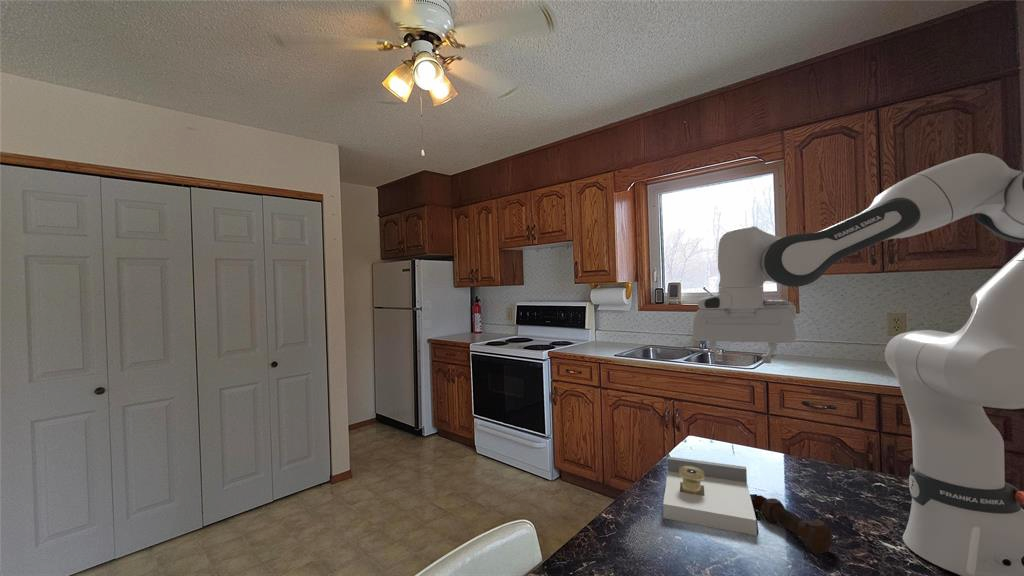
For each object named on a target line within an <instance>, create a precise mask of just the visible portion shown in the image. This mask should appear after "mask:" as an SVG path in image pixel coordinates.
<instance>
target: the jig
mask: <svg viewBox="0 0 1024 576" xmlns="http://www.w3.org/2000/svg"><path fill="white" fill-rule="evenodd" d="M682 466H693V467H697V468H699V469H701V470H702V471H704V473H705V477H704V480H703V481H700V495H695V494H689V493H683V478H682V477H681V476H680V475H679V468H680V467H682ZM664 489H665V490H664V495H663V503H662V509H663V511H662V512H663V513H662V514H663V519H666V520H672V521H676V522H682V523H686V524H687V523H688V524H692V525H699V526H704V527H707V528H708V527H709V528H715V529H721V530H725V531H730V532H736V533H742V534H746V535H751V536H756V537H757V536H758V533H757V531H758V529H757V518H756V513H755V509H754V508H753V505H752V501H751V499H752V498H751V494H750V490H749V484H748V477H747V466H743V465H742V466H741V465H736V464H727V463H719V462H713V461H712V462H711V461H705V460H698V459H688V458H681V457H675V456H667V475H666V481H665V488H664Z"/></svg>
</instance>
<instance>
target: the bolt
mask: <svg viewBox="0 0 1024 576" xmlns="http://www.w3.org/2000/svg"><path fill="white" fill-rule="evenodd" d="M751 501H752V505H753V509H754V510H756V511H757V512H759V513H760V514H761V516H762V517H763V519H764V521H766V522H767V523H769V524H771V525H780V526H781V527H783V528H785V529H786V530H788V531H789V532H791V533H793V534H794V535H796V536H798V537H799V538H800V539H801V541H802V543H803V545H804V547H805V548H806V550H807V551H809V552H810V553H812V554H823V553H826V552H827V551H828V550H829V549H830V548H831V546H832V543H833V534H832V531H831V529H830V528H829V526H828V525H827V523H825V522H824V521H822V520H820V519H817V520H811V521H808V520H805V519H804V518H801V517H800V516H798V515H797V514H795V513H793V512H791V511H789V510H788V509H786V507H785V506H784V504H783V503H782V502H781V501H780V500H779V499H777V498H772V497H771V498H766V497H764V495H753V496H752V498H751Z"/></svg>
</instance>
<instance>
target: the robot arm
mask: <svg viewBox="0 0 1024 576" xmlns="http://www.w3.org/2000/svg"><path fill="white" fill-rule="evenodd" d="M971 215H972V217H973V219H974V220H975V221H976V222H978V223H979V224H981V225H983V226H984V227H985V228H986V229H987V230H988V231H989V232H990V233H991V234H993V235H995V236H996V237H998V238H1000V239H1002V240H1005V241H1007V242H1008V241H1009V242H1013V243H1024V172H1023V171H1022V170H1017V169H1013V168H1011V167H1009V166H1008V164H1006V162H1004V160H1003V159H1001V158H1000V157H998V156H995V155H993V154H990V153H985V152H984V153H981V152H979V153H972V154H971V153H970V154H968V155H963V156H961V157H956V158H954V159H951V160H948V161H946V162H945V161H944V162H942V163H940V164H936V165H934V166H931V167H929V168H927V169H924V170H922V171H920V172H917V173H915V174H913V175H910V176H909V177H906V178H904V179H902V180H901V181H898V182H896V183H895V184H893V185H892V186H890V187H888V188H887V189H885V190H884V191H882V192H881V193H879V194H878V195H876V196H875V197H874V199H873V200H872V202H871V204H870V205H869V206H868V207H867V208H866V209H863V210H862V211H861V212H860V213H857V214H855V215H853V216H851V217H849V218H847V219H845V220H842V221H840V222H838V223H835V224H834V225H831V226H828V227H827V228H824V229H822V230H819V231H816V232H809V233H807V232H806V233H794V234H790V235H789V234H788V235H785V236H783V237H781V236H777V235H775V234H771V233H768V232H766V231H764V230H762V229H760V228H758V226H751V225H750V226H749V225H748V226H743V227H738V228H735V229H732V230H729V231H727V232H726V233H723V235H722V236H721V237H720V238H719V241H718V250H717V270H718V273H719V282H718V292H717V294H716V293H714V294H710V295H709V296H708V295H707V296H706V297H702V298H700V299H698V301H697V307H698V308H699V309H698V310H697V311H696V312H695V315H694V318H693V324H692V338H693V339H694V340H695V341H697V342H708V343H709V348H710V349H711V351H712V352H713V353H714V361H715V362H723V353H722V352H718V350H717V348H716V346H717V342H722V343H723V342H727V343H731V342H732V343H762V344H763V343H766V344H767V347H769V349H768V351H767V352H766V353H762V354H761V358H762V359H761V362H762V363H763V364H772V356H773V354H774V352H775V351H776V350H777V344H793V343H794V342H795V341H796V340H797V333H796V330H797V329H796V325H795V321H794V320H795V319H796V318H797V307H796V305H795V304H794V303H793V302H791V301H788V299H779V300H777V299H764V284H765V282H771V283H775V284H779V285H782V286H787V287H793V288H797V287H804V286H807V285H810V284H812V283H815V281H817V280H818V279H820V278H821V277H822V276H823V275H824V274H825V273H826V272H827V271H828V270H829V269H830V268H831V266H833V265H834V264H835V263H836V262H838V261H840V260H842V259H844V258H847V257H848V256H851V255H854V254H855V253H858V252H860V251H863V250H865V249H867V248H870V247H872V246H874V245H876V244H879V243H881V242H884V241H886V240H887V241H888V240H892V239H904V238H909V237H913V236H917V235H920V234H924V233H926V232H927V233H928V232H931V231H933V230H935V229H938V228H942V227H944V226H947V225H949V224H951V223H953V222H957V221H958V220H960V219H962V218H963V219H964V218H965V217H968V216H971ZM977 215H978V216H977ZM969 302H970V303H969V304H970V307H971V309H972V312H971V314H970V316H969V317H968V320H967V321H966V323H964V325H963V326H962V327H961V328H960V329H959V330H957V331H955V332H953V333H951V332H945V331H940V330H933V329H922V330H921V329H920V330H911V331H906V332H902V333H899V334H897V335H895V336H893V338H891V339H890V340H889V341H888V343H887V345H885V346H886V347H885V350H884V359H885V363H886V364H887V366H888V368H889V369H890V370H891V371H892V372H893V374H894V376H895V378H896V380H897V382H898V385H899V387H900V390H901V395H902V397H903V400H904V403H905V406H906V409H907V413H908V416H909V422H910V427H911V428H910V429H911V440H912V441H911V443H912V463H911V464H910V465H909V466H910V467H909V476H908V478H909V479H908V480H909V481H908V482H909V483H908V484H909V485H908V487H909V492H910V497H911V506H910V513H909V517H908V521H907V525H906V526H905V527H906V528H905V531H904V533H903V534H902V541H903V543H904V544H905V546H907V548H908V549H910V551H912V552H913V553H914V554H916V555H918V556H919V557H921V558H922V559H924V560H926V561H927V562H929V563H932V564H933V565H936V566H938V567H940V568H942V569H944V570H947V571H949V572H951V573H954V574H957V575H959V576H1024V509H1023V508H1022V506H1021V504H1022V505H1023V506H1024V491H1023V490H1022V491H1021V490H1020V489H1019V488H1017V487H1016V486H1014V485H1012V484H1010V483H1009V482H1007V481H1006V479H1005V477H1006V476H1005V475H1006V474H1005V473H1006V472H1005V471H1006V470H1005V468H1006V467H1005V442H1004V439H1003V437H1002V434H1001V433H1000V431H999V430H998V429H997V428H996V427H995V425H994V424H993V423H992V422H991V420H990V419H989V417H988V415H987V414H986V411H985V409H984V408H983V407H986V408H993V409H994V408H995V409H1006V410H1018V409H1019V410H1020V409H1024V247H1022V249H1021V251H1019V252H1018V253H1017V254H1016V255H1015V256H1013V257H1012V258H1011V259H1010V260H1009V261H1008V262H1007V263H1005V265H1003V266H1002V267H1001V268H1000V269H999V270H998V271H997V272H996V273H995V274H994V275H992V276H991V277H990V278H989V279H988V280H986V282H985V283H984V284H982V285H981V286H980V287H979V288H978V289H977V290H976V291H975V292H974V293H973V294H972V296H971V297H970V300H969Z"/></svg>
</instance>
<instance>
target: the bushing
mask: <svg viewBox="0 0 1024 576" xmlns="http://www.w3.org/2000/svg"><path fill="white" fill-rule="evenodd" d="M679 475H680V476H681V477H682V478H683V493H689V494H695V495H700V481H703V480H704V477H705V473H704V471H702V470H701V469H699V468H697V467H693V466H682V467H680V468H679Z"/></svg>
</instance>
